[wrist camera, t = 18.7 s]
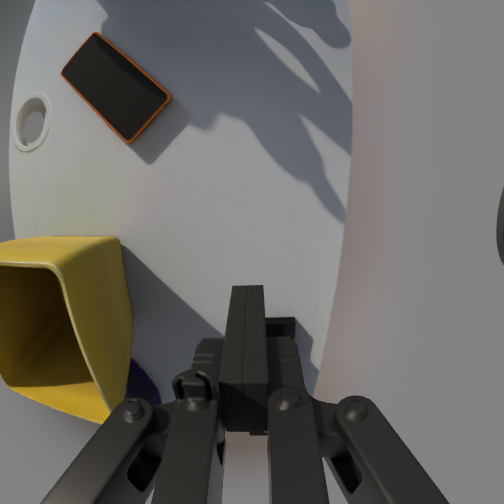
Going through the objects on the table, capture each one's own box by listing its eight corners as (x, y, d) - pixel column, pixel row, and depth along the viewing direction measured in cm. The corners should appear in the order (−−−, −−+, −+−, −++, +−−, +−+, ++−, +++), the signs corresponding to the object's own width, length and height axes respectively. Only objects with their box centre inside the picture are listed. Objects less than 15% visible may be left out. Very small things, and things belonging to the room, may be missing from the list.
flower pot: (158, 342, 39) (120, 431, 23) (59, 327, 39) (6, 389, 23) (141, 212, 32) (59, 264, 16) (33, 216, 32) (-49, 256, 16)
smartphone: (97, 31, 24) (94, 29, 23) (174, 98, 28) (172, 96, 27) (60, 74, 25) (57, 73, 25) (130, 146, 29) (127, 146, 29)
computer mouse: (127, 408, 45) (121, 423, 41) (93, 351, 40) (83, 365, 36) (169, 411, 44) (165, 427, 40) (138, 351, 39) (130, 367, 36)
